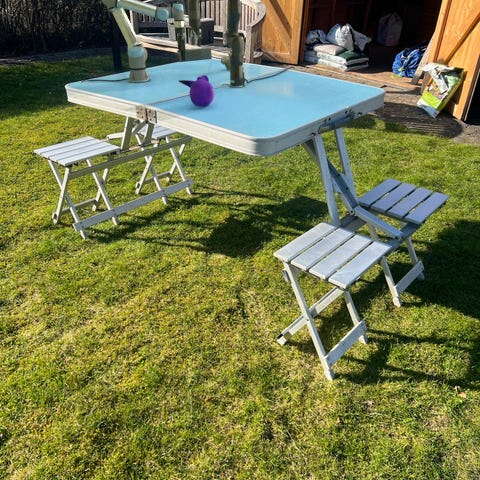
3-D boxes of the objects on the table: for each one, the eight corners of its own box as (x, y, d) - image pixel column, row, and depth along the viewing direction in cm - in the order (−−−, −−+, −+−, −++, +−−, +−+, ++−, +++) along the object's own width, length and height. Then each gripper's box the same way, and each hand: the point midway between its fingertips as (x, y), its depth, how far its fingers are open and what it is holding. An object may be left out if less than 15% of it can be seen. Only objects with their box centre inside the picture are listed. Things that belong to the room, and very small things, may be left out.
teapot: (224, 71, 365) (223, 52, 358) (217, 69, 374) (217, 50, 366) (247, 69, 374) (246, 49, 367) (240, 67, 383) (239, 48, 375)
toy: (202, 97, 286) (214, 113, 266) (175, 93, 279) (186, 108, 258) (208, 72, 278) (220, 86, 258) (180, 67, 271) (191, 81, 250)
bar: (179, 62, 344) (178, 51, 340) (177, 61, 348) (176, 50, 344) (211, 59, 352) (211, 48, 348) (209, 58, 356) (208, 47, 352)
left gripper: (188, 27, 328) (190, 61, 340) (181, 26, 343) (183, 58, 355) (178, 28, 326) (181, 62, 338) (171, 26, 341) (174, 59, 353)
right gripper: (205, 18, 279) (206, 46, 287) (194, 17, 289) (196, 44, 297) (194, 19, 275) (196, 47, 284) (184, 17, 286) (186, 45, 294)
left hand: (182, 60), depth 346 cm, fingers closed on bar, 5 cm apart
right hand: (196, 45), depth 290 cm, fingers open, 8 cm apart
